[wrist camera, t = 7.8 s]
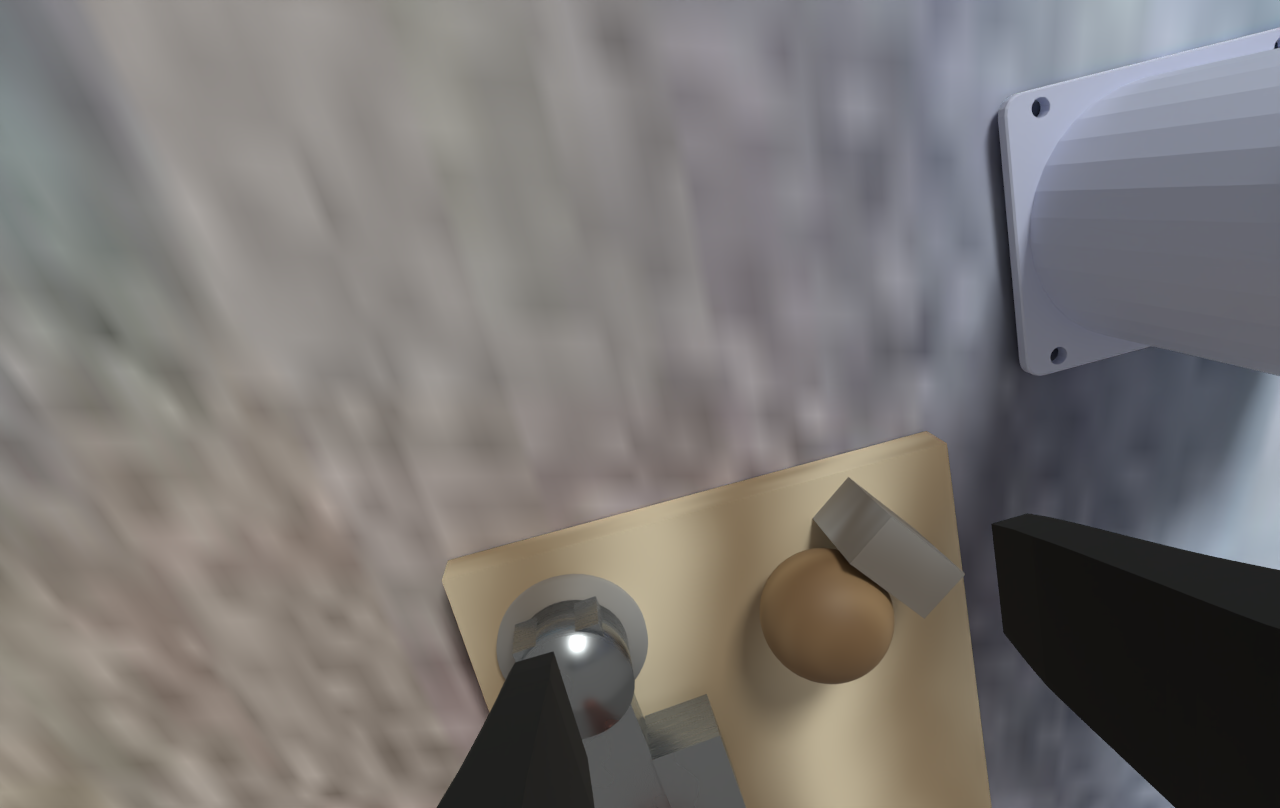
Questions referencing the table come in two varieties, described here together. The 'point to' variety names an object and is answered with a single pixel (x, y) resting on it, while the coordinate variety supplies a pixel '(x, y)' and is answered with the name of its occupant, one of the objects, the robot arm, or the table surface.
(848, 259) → the table surface
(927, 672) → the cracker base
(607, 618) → the lever
